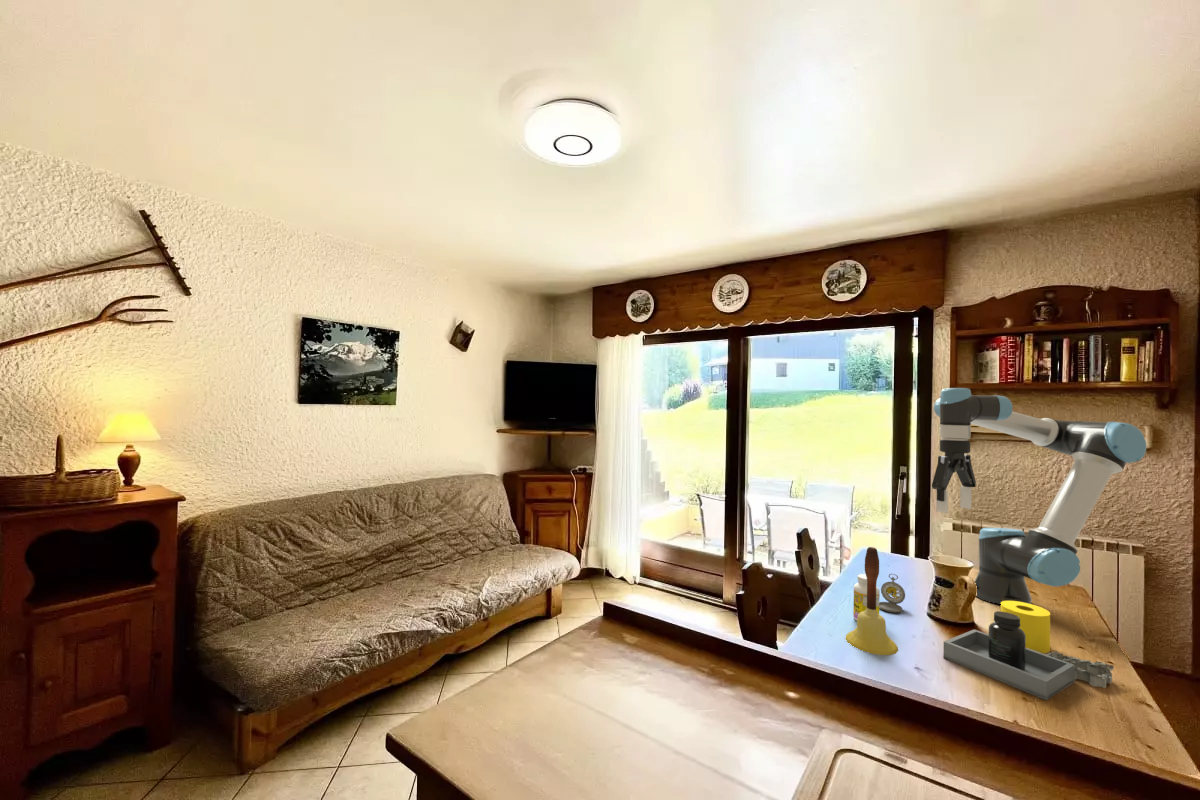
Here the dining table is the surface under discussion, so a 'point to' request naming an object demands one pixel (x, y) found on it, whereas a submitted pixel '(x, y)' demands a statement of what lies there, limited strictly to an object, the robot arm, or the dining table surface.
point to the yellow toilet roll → (1031, 624)
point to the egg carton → (1088, 669)
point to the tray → (1037, 679)
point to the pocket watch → (892, 602)
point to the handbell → (871, 616)
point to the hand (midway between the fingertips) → (954, 510)
